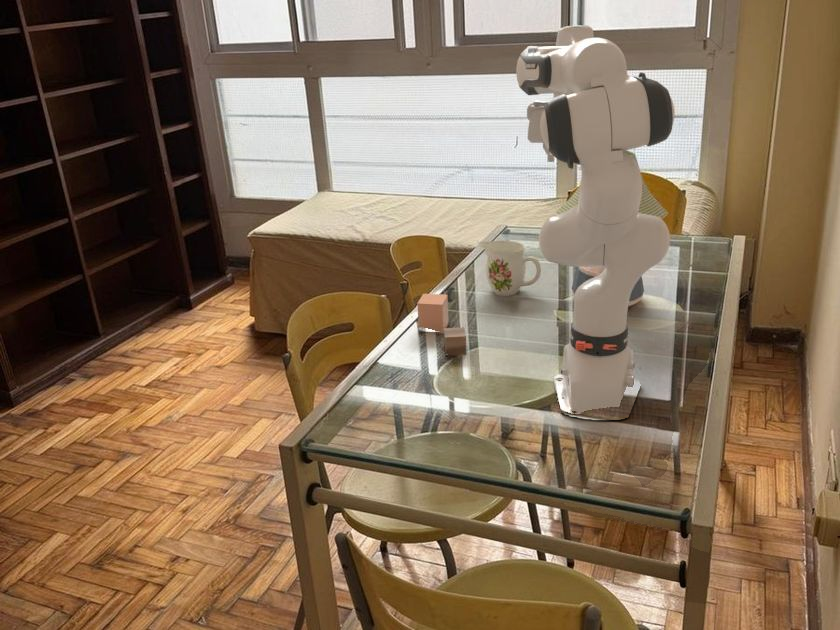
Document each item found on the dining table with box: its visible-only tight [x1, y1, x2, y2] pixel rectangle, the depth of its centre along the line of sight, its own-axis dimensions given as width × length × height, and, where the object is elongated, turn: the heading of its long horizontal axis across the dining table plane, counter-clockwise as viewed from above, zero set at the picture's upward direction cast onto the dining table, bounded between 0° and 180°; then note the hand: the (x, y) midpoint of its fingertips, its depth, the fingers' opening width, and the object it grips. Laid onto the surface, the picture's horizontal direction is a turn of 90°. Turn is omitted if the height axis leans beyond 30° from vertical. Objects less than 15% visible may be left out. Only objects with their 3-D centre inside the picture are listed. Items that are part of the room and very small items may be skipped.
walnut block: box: [443, 326, 467, 356], centre depth 194 cm, size 5×5×5 cm
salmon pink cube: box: [417, 293, 449, 332], centre depth 205 cm, size 6×6×8 cm
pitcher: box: [477, 240, 542, 297], centre depth 224 cm, size 11×18×14 cm, turn 67°
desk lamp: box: [555, 150, 669, 307], centre depth 209 cm, size 26×28×42 cm
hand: (571, 161), depth 187 cm, fingers open, 8 cm apart
